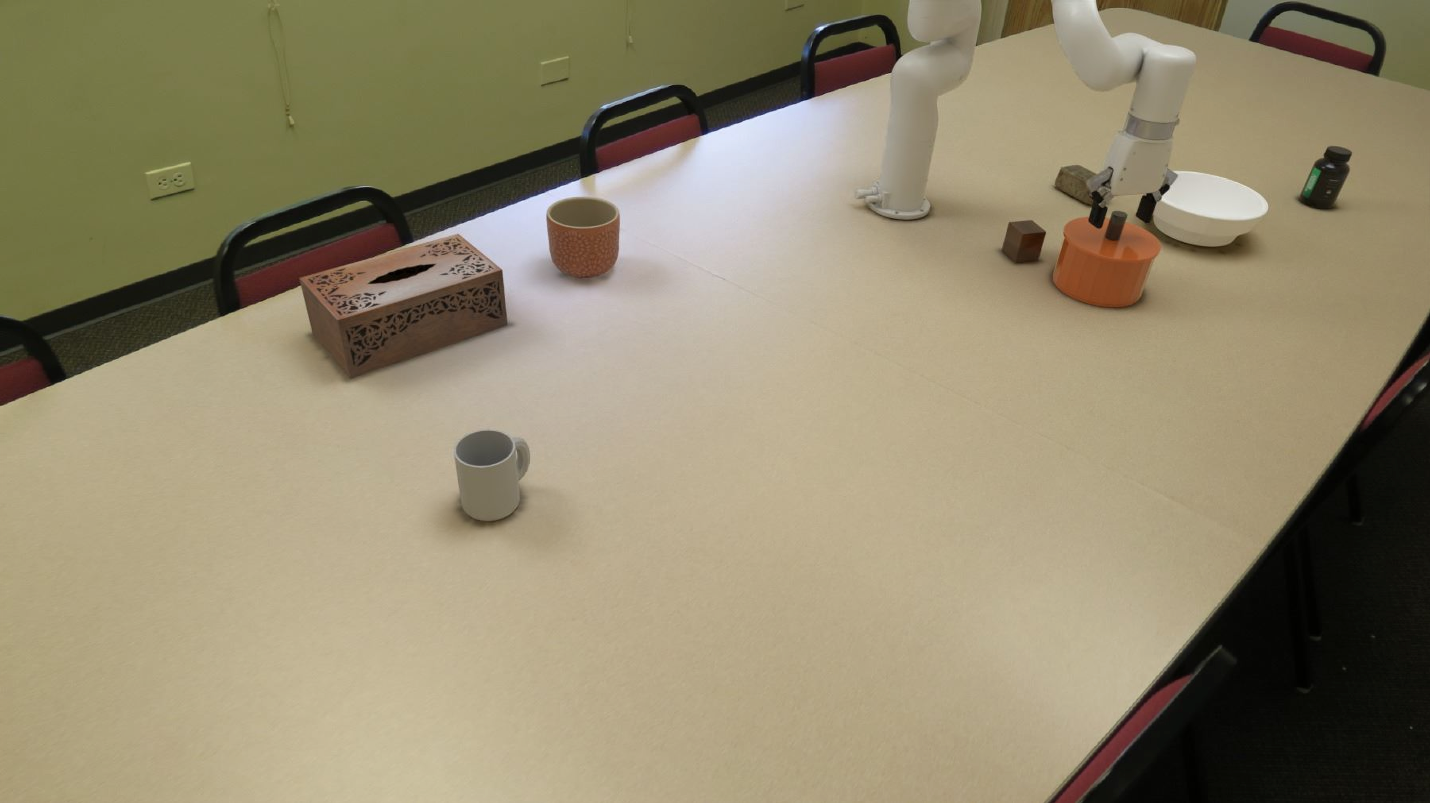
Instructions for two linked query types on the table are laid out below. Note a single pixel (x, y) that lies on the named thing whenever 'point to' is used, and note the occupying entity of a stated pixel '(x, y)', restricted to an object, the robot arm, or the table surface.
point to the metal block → (1023, 241)
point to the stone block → (1075, 182)
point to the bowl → (1208, 209)
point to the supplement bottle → (1326, 178)
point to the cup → (490, 472)
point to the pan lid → (1113, 239)
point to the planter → (583, 235)
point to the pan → (1099, 278)
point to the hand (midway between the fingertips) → (1118, 222)
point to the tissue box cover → (404, 303)
